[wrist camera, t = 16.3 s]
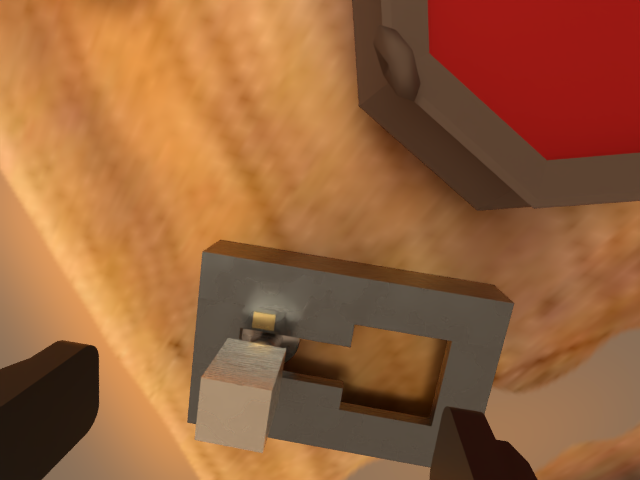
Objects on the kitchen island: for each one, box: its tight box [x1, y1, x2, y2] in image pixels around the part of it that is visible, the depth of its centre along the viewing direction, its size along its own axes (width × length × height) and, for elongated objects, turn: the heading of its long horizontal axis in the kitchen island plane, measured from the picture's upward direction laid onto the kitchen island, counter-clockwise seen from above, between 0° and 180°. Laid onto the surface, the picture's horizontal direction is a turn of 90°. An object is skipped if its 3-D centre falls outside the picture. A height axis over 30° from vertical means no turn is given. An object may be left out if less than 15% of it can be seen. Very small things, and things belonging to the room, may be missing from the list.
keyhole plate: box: [187, 240, 514, 468], centre depth 32 cm, size 22×14×4 cm, turn 81°
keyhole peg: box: [195, 329, 300, 453], centre depth 28 cm, size 5×5×12 cm
